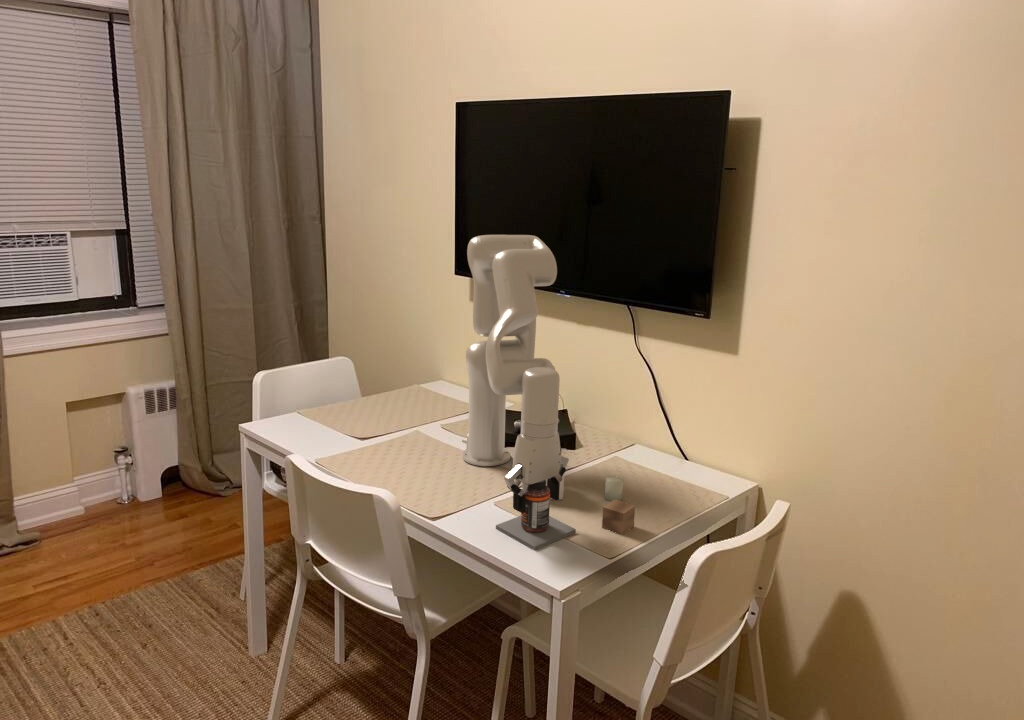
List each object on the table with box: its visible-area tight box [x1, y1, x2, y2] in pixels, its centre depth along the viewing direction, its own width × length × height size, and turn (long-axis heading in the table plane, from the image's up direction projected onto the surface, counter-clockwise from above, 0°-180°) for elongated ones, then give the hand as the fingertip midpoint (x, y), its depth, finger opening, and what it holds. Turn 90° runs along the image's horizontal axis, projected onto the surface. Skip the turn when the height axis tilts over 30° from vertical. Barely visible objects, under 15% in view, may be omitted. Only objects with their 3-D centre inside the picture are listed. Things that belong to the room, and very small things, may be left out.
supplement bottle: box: [520, 480, 551, 532], centre depth 159 cm, size 6×6×11 cm
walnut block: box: [601, 499, 636, 536], centre depth 162 cm, size 5×5×5 cm
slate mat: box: [495, 515, 577, 551], centre depth 160 cm, size 12×12×1 cm
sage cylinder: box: [604, 475, 624, 503], centre depth 176 cm, size 4×4×5 cm
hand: (536, 504), depth 159 cm, fingers open, 9 cm apart
